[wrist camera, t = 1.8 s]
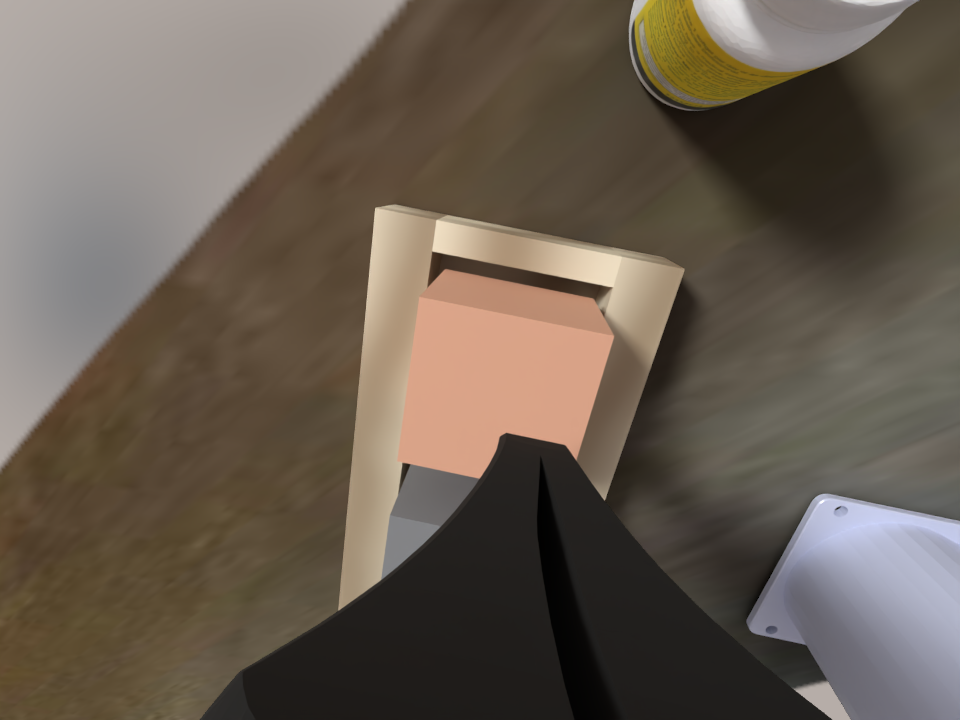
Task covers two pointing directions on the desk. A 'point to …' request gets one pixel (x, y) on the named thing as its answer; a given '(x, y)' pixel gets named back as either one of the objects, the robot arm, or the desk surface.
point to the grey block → (422, 510)
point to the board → (504, 256)
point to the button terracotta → (498, 370)
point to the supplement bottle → (744, 43)
